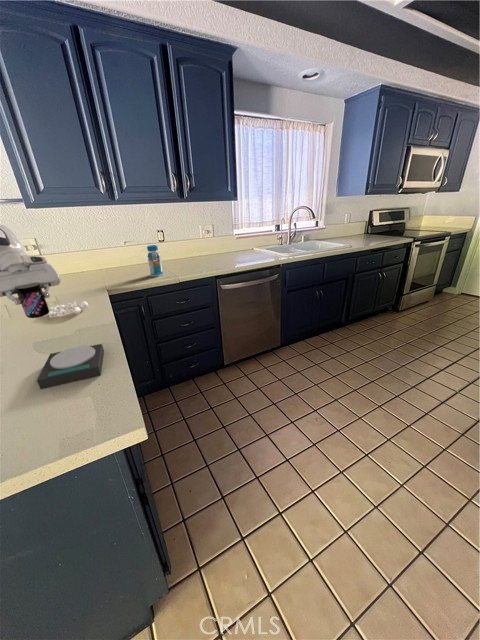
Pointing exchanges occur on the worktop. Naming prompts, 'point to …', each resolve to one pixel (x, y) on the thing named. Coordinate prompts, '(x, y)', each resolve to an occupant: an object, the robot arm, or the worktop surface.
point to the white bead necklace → (62, 309)
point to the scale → (71, 365)
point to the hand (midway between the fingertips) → (33, 300)
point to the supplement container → (32, 300)
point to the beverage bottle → (154, 261)
